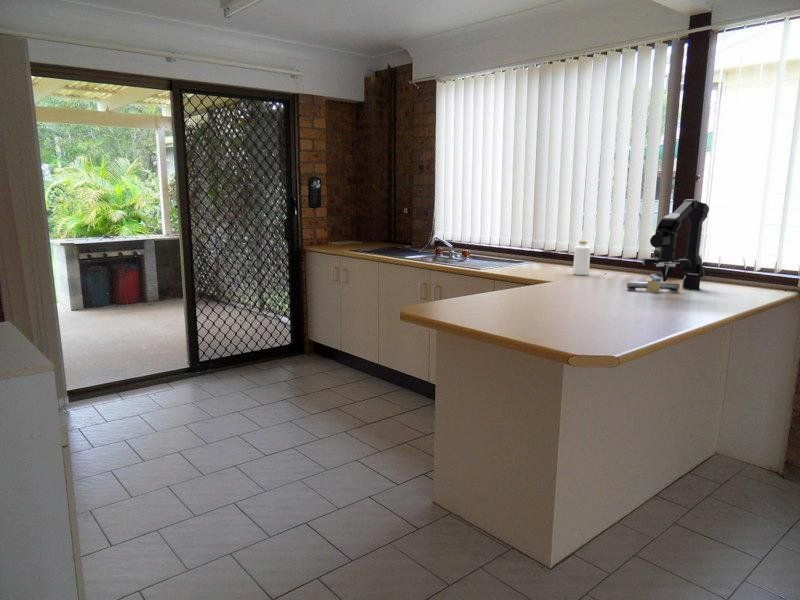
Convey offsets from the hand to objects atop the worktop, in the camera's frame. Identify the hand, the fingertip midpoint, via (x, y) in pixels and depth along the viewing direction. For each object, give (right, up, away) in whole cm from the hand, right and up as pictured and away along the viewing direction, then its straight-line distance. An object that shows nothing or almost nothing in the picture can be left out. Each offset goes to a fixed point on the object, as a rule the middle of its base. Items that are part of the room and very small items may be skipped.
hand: (664, 281), depth 250 cm
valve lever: (-2, +1, +5) cm, 5 cm away
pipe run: (-1, -4, +10) cm, 11 cm away
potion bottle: (-18, +6, +59) cm, 62 cm away
